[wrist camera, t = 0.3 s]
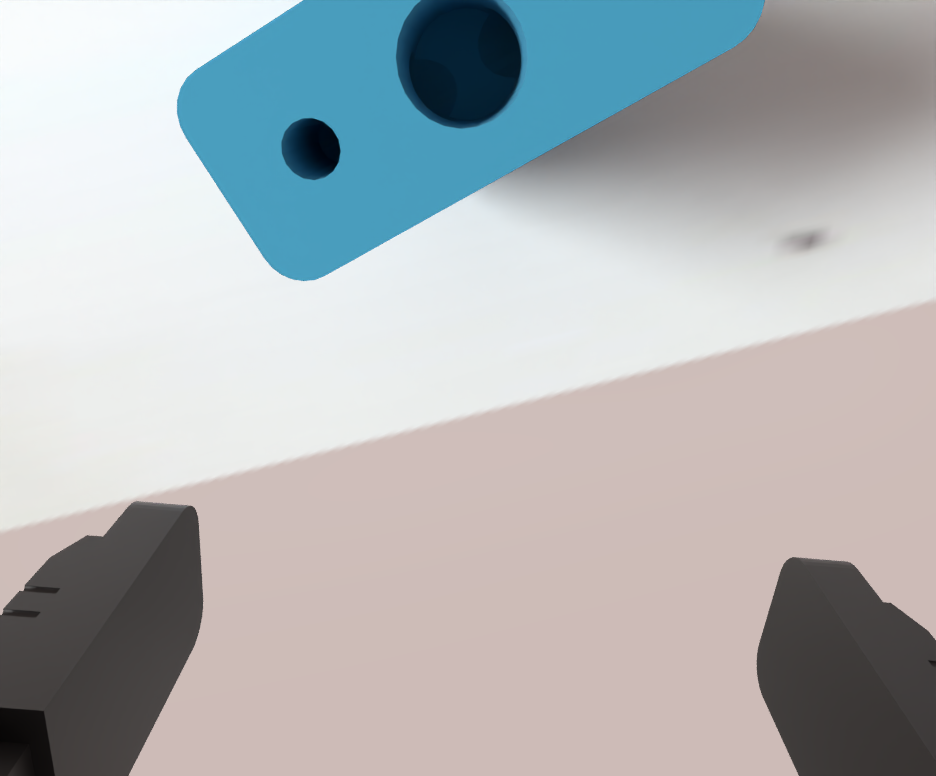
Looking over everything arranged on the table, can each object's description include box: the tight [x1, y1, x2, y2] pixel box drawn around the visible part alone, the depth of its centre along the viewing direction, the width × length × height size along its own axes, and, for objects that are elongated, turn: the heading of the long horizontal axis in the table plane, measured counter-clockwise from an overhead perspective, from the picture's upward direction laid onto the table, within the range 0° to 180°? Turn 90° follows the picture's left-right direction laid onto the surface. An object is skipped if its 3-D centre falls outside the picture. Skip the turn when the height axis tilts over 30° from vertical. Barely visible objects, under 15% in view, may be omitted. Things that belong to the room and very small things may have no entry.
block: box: [177, 0, 765, 281], centre depth 25 cm, size 12×5×20 cm, turn 119°
